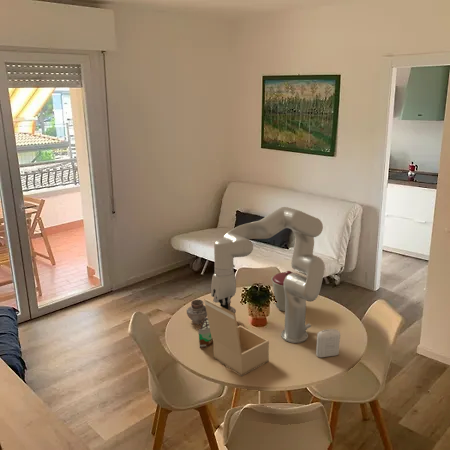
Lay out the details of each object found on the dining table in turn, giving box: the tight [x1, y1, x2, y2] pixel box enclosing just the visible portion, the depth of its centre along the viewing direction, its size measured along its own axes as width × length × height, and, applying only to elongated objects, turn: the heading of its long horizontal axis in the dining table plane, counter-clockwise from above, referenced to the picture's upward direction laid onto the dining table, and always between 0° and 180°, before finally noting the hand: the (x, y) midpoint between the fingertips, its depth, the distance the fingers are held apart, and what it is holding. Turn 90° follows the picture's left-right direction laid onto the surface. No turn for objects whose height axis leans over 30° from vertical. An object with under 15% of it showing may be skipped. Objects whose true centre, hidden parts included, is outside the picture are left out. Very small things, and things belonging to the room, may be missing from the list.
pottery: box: [186, 299, 237, 325], centre depth 235 cm, size 11×25×12 cm, turn 87°
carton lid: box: [203, 298, 242, 356], centre depth 192 cm, size 20×18×1 cm
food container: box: [198, 317, 213, 349], centre depth 216 cm, size 12×6×10 cm, turn 168°
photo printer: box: [315, 328, 341, 358], centre depth 205 cm, size 10×4×12 cm, turn 103°
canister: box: [271, 270, 301, 312], centre depth 247 cm, size 18×18×21 cm
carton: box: [212, 325, 270, 377], centre depth 203 cm, size 16×18×10 cm
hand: (224, 311), depth 191 cm, fingers closed
